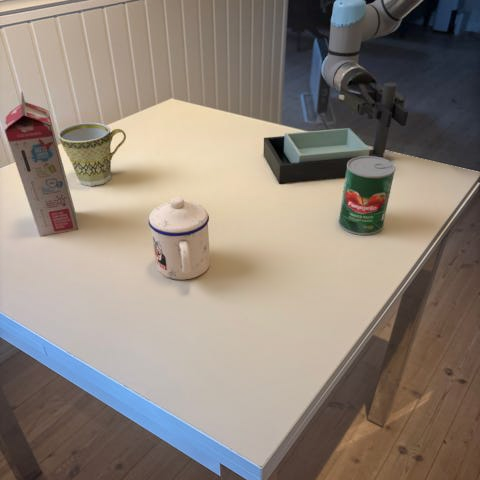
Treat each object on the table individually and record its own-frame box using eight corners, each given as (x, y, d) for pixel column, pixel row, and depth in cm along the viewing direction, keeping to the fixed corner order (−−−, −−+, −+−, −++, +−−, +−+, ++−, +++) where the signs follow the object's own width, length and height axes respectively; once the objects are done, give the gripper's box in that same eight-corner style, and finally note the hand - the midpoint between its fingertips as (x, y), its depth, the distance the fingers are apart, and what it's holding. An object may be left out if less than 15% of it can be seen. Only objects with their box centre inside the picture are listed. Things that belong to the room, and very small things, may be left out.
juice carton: (75, 212, 92) (42, 89, 78) (78, 229, 88) (43, 102, 73) (39, 217, 91) (-2, 93, 76) (39, 236, 86) (-3, 107, 71)
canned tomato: (346, 237, 85) (355, 177, 77) (333, 214, 91) (340, 157, 83) (389, 233, 86) (403, 174, 78) (374, 211, 91) (385, 154, 84)
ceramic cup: (75, 194, 98) (62, 145, 91) (66, 174, 105) (54, 127, 98) (138, 181, 102) (130, 133, 95) (126, 163, 108) (118, 117, 102)
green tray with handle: (372, 144, 113) (384, 75, 103) (394, 165, 104) (409, 93, 94) (283, 152, 110) (287, 82, 100) (298, 175, 101) (303, 101, 91)
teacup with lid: (153, 252, 82) (143, 188, 74) (207, 246, 83) (202, 182, 75) (159, 296, 73) (149, 229, 65) (219, 288, 74) (215, 221, 67)
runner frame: (338, 148, 113) (341, 131, 111) (362, 176, 102) (365, 157, 100) (263, 155, 111) (263, 137, 108) (279, 184, 100) (280, 165, 97)
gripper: (383, 98, 118) (429, 135, 101) (321, 103, 116) (357, 141, 99) (389, 65, 113) (438, 97, 96) (324, 69, 111) (363, 103, 94)
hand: (397, 119), depth 98 cm, fingers closed on green tray with handle, 3 cm apart
